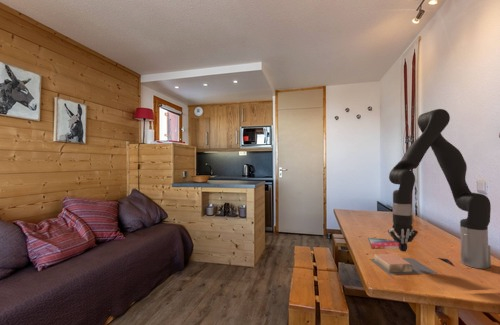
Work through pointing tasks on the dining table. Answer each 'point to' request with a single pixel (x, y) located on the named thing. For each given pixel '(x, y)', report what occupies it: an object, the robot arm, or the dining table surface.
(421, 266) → the mat
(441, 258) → the cell phone
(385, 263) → the tile
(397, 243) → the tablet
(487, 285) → the dining table surface
